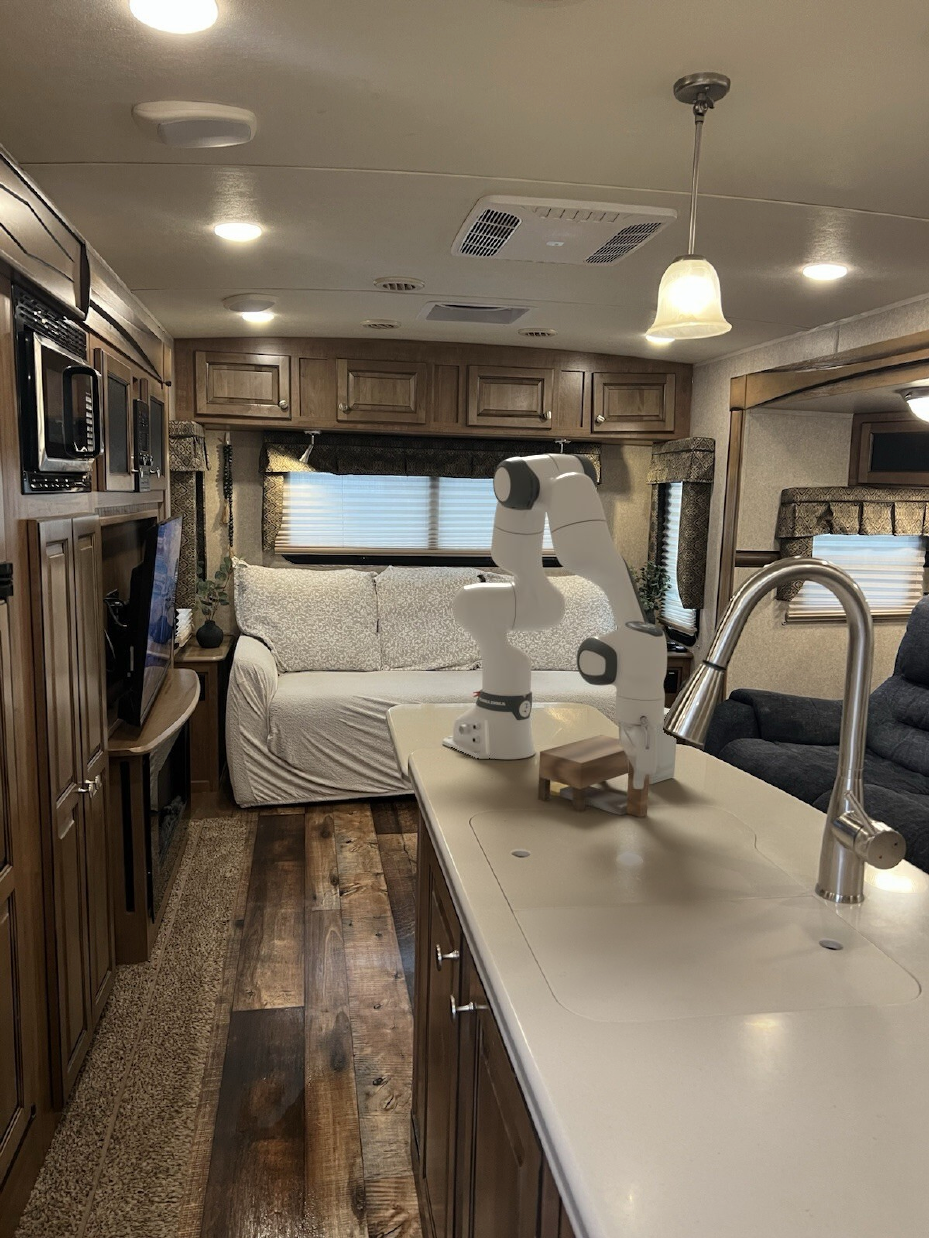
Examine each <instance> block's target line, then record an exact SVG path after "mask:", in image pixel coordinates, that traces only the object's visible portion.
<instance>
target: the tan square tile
mask: <svg viewBox="0 0 929 1238" xmlns="http://www.w3.org/2000/svg"><path fill="white" fill-rule="evenodd" d="M565 787H568V785H565V784H561V783H558V782H555V781H553V782H550V795H553V796H557V797H560V789H561V788H565Z"/></svg>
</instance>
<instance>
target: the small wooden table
mask: <svg viewBox="0 0 929 1238" xmlns="http://www.w3.org/2000/svg"><path fill="white" fill-rule="evenodd" d="M538 763H539V764H538V767H539V768H538V771H539V772H538V789H537V800H540V801H543V802H546V801H549V800H551V794H550V784H551V782H558V783H561V784H565V785H568V786H571V787H573V800H572V808H571V810H572V811H574V812H577V813H581V812H584V811H585V805H586V804H585V787H588V786H591V787H592V786H594V785H597V784H599V783H600V784H601V783H604V782H605V781H609V780H611V779H614V778H617V777H621V776H624V775H628V762H627V756H626V754H625V752H624V750H623V748H622V746H621V745H620V740H619V738H616V737H611V736H608V735H604V734H601V735H597V736H592V737H589V738H585V739H581V740H578V741H573V742H570V743H567V744H563V745H560V746H556V747H555V746H554V747H551V748H547V749H544V750H541V751H539V762H538Z"/></svg>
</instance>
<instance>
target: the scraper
mask: <svg viewBox="0 0 929 1238" xmlns="http://www.w3.org/2000/svg"><path fill="white" fill-rule="evenodd" d="M646 749H647V748H646ZM633 777H634V768H633V767H632V765H631V763H630V761H629V770H628V773H627V790H626V791H627V794H626V795H627V796H625V795H622V794H619V793H615V792H611V791H607V790H604V789H600V788H597V787H593V786H592V785H591V786H588V787H585V805H586V806H590V807H593V808H596V809H599V810H603V811H605V812H609V813H611V814H612V813H613V814H615V815H620V816H622V815H624V814H629V815H632V816H634V817H638V818H641V817H643V816H647V815H648V810H649V809H648V808H649V806H648V803H649V802H648V801H649V787H650V786H649V785H650V784H649V774H646V775H645V778H644V786H643V788H642V789H635V788H634V787H633V784H632V783H633ZM560 797H561V798H564V799H568V800H569V801H573V787H571V786H568V787H565V788H561V789H560Z"/></svg>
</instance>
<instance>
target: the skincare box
mask: <svg viewBox="0 0 929 1238" xmlns="http://www.w3.org/2000/svg"><path fill="white" fill-rule="evenodd" d="M670 709H671V708H667V707H664V719H665V717H666V715H667V713H668V712H669V710H670ZM663 726H664V720H663V722H662V723H660V724H657V725H656V730H655V732H656V735H657V767H656V771H655V773H654V774H649V785H653V784H656V783H659V782H663V781H666V780H669V779H672V778H674V777H675V770H676V767H675V766H676V754H677V752H676V750H677V749H676V748H677V739H676V738H674V737H673V736H670V735H667V734H666V733H664V730H663Z"/></svg>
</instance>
